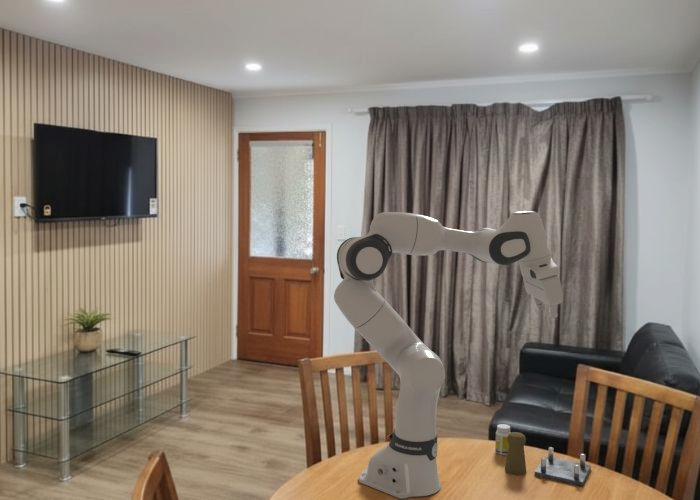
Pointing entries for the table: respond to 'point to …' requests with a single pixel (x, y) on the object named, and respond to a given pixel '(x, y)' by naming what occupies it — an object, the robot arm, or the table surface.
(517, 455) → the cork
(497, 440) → the supplement bottle
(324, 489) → the table surface
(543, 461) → the standoff chassis
